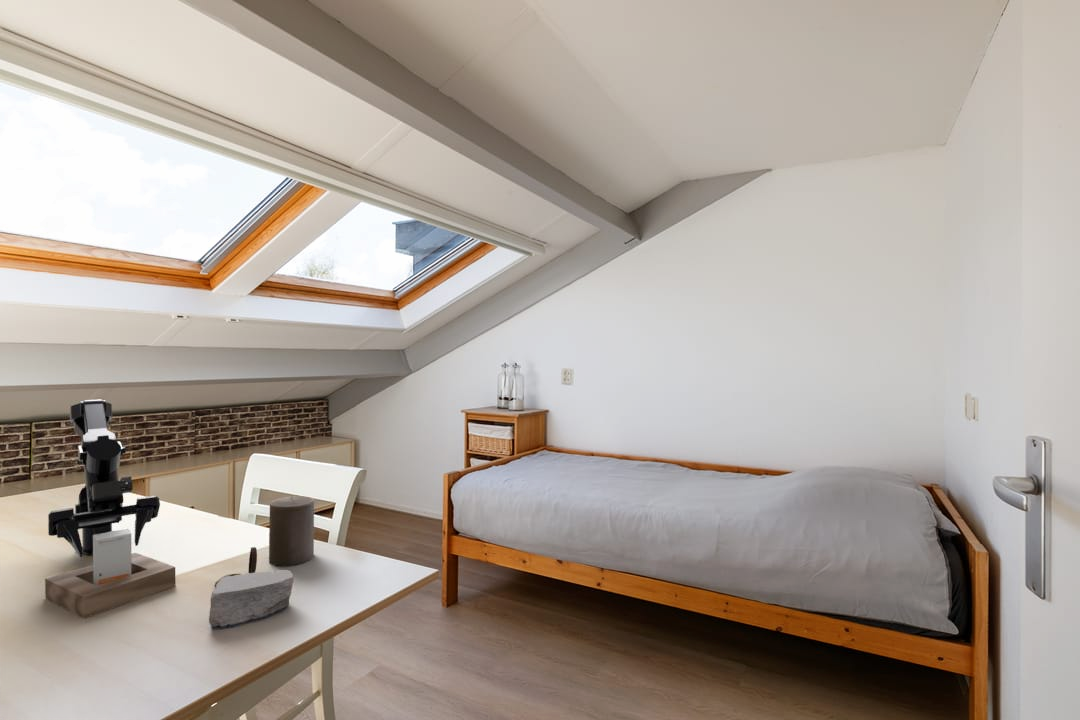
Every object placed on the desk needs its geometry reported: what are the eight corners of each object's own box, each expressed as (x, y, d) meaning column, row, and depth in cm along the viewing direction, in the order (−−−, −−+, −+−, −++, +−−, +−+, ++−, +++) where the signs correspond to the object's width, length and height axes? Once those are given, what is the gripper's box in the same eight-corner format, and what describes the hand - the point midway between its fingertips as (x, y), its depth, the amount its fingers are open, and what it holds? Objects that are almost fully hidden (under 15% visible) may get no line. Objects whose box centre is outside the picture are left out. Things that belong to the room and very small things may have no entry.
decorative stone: (198, 620, 104) (215, 638, 97) (197, 583, 104) (215, 598, 97) (279, 595, 115) (300, 610, 108) (279, 561, 115) (300, 574, 108)
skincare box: (95, 600, 111) (93, 540, 111) (93, 592, 114) (91, 534, 114) (132, 590, 115) (131, 533, 115) (129, 584, 118) (128, 527, 118)
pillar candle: (276, 570, 126) (276, 503, 126) (263, 557, 133) (264, 494, 133) (320, 559, 132) (320, 496, 132) (305, 548, 140) (306, 488, 139)
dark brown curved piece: (214, 582, 119) (213, 549, 119) (255, 575, 123) (255, 542, 123) (214, 597, 112) (214, 561, 112) (258, 589, 116) (258, 554, 116)
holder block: (45, 598, 111) (45, 578, 111) (135, 570, 125) (135, 552, 125) (84, 618, 104) (83, 596, 103) (175, 585, 118) (175, 566, 117)
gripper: (47, 472, 113) (50, 541, 106) (157, 459, 126) (168, 520, 119) (46, 502, 120) (50, 569, 112) (152, 487, 132) (161, 546, 125)
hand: (109, 550), depth 117 cm, fingers open, 9 cm apart
